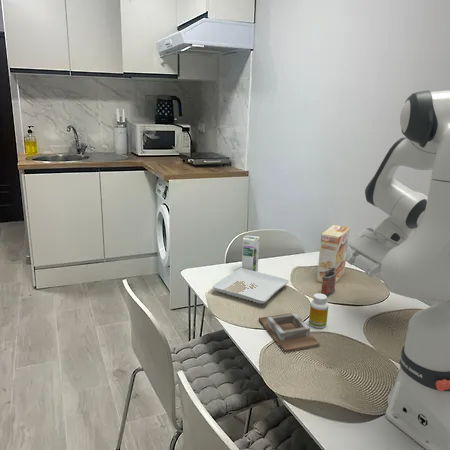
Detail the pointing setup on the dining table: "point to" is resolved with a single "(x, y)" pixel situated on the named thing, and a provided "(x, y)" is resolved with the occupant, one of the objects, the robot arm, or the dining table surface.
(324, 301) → the supplement bottle
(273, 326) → the socket board
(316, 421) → the dining table surface
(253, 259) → the syrup box
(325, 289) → the lighter
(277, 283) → the salad plate
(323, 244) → the coffeecake box
